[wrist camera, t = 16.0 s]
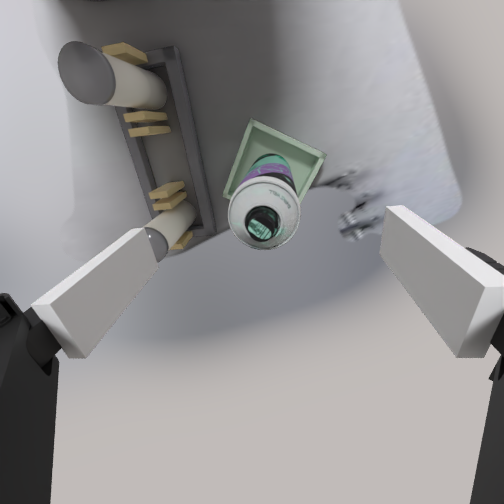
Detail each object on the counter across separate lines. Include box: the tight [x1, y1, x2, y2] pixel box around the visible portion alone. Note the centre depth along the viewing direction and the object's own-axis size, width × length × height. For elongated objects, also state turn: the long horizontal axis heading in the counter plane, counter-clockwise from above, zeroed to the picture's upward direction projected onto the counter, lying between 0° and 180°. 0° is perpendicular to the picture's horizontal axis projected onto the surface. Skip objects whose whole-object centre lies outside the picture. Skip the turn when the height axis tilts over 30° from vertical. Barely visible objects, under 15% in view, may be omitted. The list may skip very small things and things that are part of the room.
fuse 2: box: [142, 200, 196, 263], centre depth 32 cm, size 4×4×12 cm
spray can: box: [228, 153, 301, 250], centre depth 24 cm, size 6×6×20 cm
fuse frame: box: [101, 42, 217, 250], centre depth 31 cm, size 23×9×6 cm, turn 7°
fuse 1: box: [58, 41, 167, 110], centre depth 25 cm, size 4×4×12 cm
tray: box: [222, 118, 326, 204], centre depth 32 cm, size 10×10×2 cm
